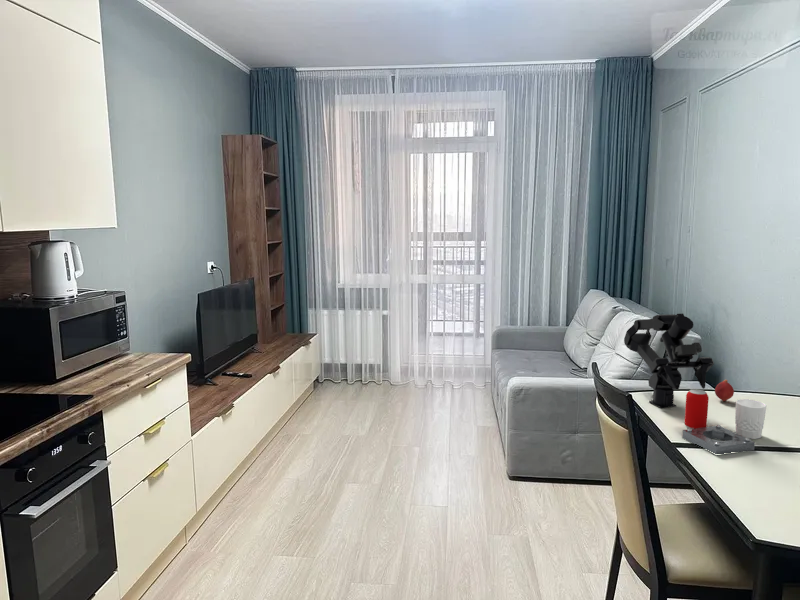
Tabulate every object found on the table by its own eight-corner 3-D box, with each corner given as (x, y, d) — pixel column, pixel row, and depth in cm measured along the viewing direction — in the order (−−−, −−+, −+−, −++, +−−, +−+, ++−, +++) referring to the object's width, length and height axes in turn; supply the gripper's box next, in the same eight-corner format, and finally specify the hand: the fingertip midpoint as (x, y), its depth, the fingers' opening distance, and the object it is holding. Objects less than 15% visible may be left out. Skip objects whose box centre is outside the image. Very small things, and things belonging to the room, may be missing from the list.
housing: (682, 437, 169) (682, 428, 169) (718, 433, 172) (718, 423, 172) (716, 455, 157) (716, 445, 156) (754, 450, 160) (755, 439, 159)
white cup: (761, 432, 173) (764, 400, 171) (765, 441, 166) (768, 409, 164) (731, 428, 176) (734, 397, 175) (734, 437, 169) (737, 405, 168)
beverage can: (694, 423, 181) (697, 387, 179) (710, 430, 175) (713, 393, 173) (679, 425, 179) (682, 389, 177) (695, 432, 173) (698, 395, 171)
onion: (717, 403, 198) (719, 381, 197) (711, 398, 204) (713, 377, 203) (735, 404, 198) (737, 382, 196) (729, 398, 203) (730, 377, 202)
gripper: (655, 334, 182) (670, 376, 173) (713, 333, 182) (730, 375, 173) (643, 351, 191) (657, 393, 182) (698, 350, 191) (714, 392, 182)
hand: (689, 388), depth 180 cm, fingers open, 9 cm apart
